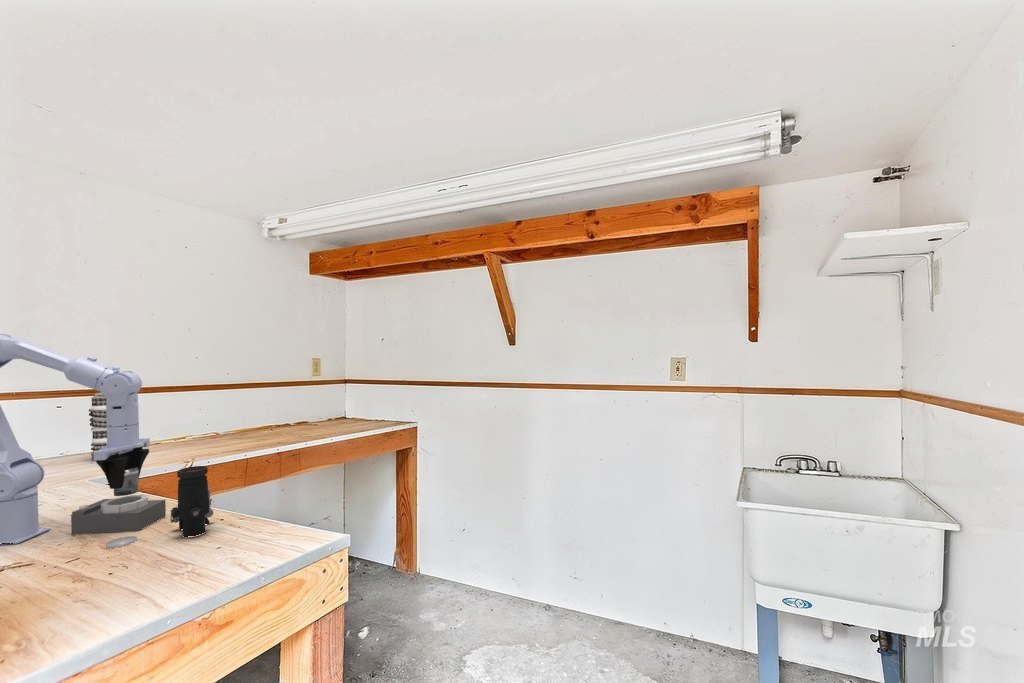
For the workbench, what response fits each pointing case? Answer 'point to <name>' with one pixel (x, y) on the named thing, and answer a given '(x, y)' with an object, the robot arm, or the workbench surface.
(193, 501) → the scope
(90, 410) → the decorative candle
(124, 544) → the grey domed disc
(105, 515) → the camera body
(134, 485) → the lens
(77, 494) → the workbench surface
